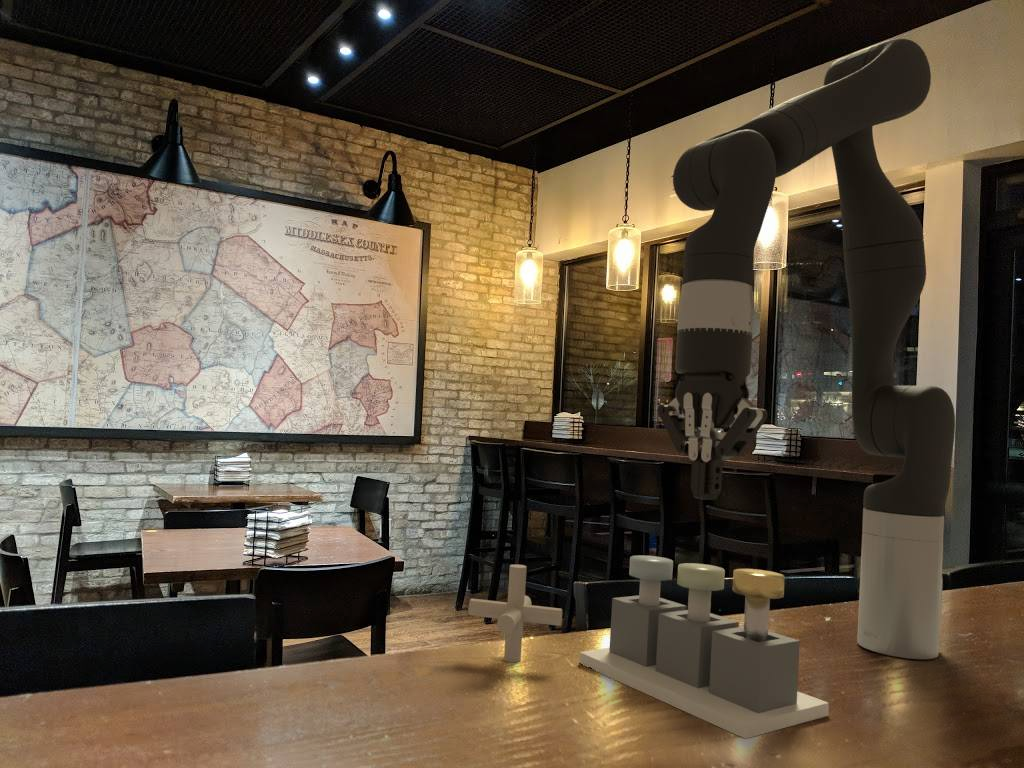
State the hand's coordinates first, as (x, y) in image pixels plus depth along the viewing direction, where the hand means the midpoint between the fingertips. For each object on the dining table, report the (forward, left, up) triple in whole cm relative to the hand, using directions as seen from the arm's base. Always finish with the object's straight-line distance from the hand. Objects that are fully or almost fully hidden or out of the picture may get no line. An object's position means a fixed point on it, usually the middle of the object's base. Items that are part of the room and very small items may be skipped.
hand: (705, 498), depth 81 cm
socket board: (0, 0, -19) cm, 19 cm away
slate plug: (0, -7, -16) cm, 17 cm away
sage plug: (0, 0, -15) cm, 15 cm away
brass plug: (0, +7, -15) cm, 16 cm away
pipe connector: (+12, -15, -19) cm, 27 cm away
